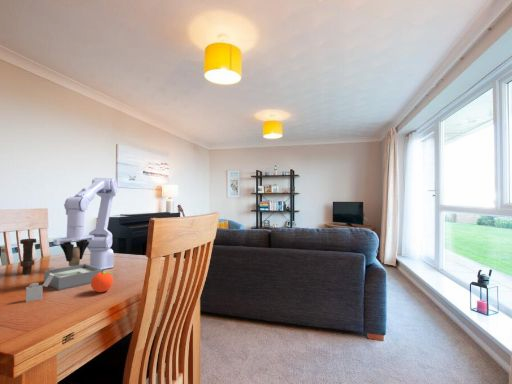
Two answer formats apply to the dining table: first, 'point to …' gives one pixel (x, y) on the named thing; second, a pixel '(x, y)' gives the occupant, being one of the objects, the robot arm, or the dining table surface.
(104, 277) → the clementine
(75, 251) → the peg
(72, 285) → the bore box
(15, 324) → the dining table surface
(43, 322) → the dining table surface
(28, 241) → the bolt
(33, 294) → the lighter
